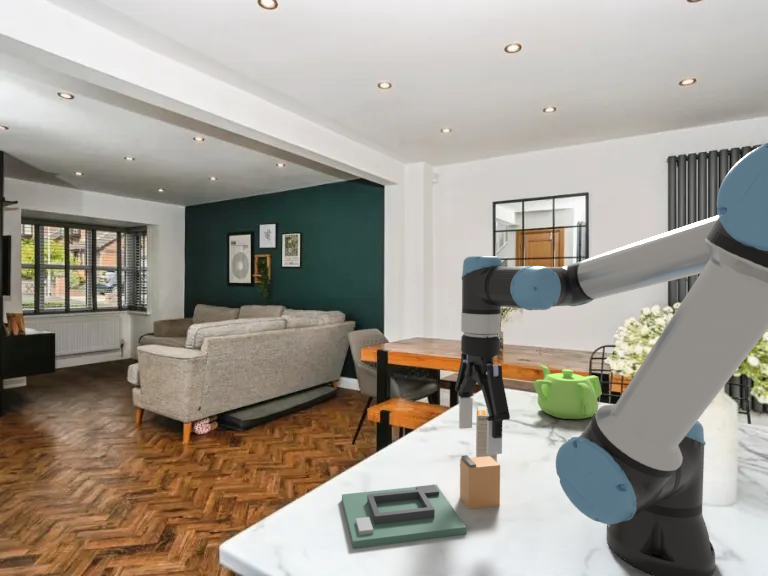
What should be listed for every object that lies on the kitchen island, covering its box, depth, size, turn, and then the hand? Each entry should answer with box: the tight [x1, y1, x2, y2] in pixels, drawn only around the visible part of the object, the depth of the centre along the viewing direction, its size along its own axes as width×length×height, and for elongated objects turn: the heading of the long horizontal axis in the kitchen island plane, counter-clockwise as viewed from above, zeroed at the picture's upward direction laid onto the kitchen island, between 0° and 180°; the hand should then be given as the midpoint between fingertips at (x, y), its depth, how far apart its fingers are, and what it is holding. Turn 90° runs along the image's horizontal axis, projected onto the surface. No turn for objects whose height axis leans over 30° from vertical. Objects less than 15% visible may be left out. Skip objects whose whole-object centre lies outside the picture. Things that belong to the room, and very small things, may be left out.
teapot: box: [533, 364, 603, 420], centre depth 145 cm, size 19×20×14 cm
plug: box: [459, 454, 501, 510], centre depth 89 cm, size 4×6×9 cm
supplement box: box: [475, 405, 498, 463], centre depth 105 cm, size 8×5×13 cm, turn 168°
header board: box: [341, 484, 467, 549], centre depth 83 cm, size 16×20×3 cm
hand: (478, 439), depth 89 cm, fingers open, 13 cm apart
